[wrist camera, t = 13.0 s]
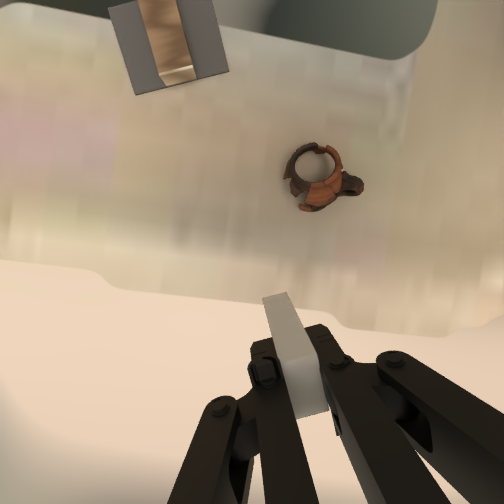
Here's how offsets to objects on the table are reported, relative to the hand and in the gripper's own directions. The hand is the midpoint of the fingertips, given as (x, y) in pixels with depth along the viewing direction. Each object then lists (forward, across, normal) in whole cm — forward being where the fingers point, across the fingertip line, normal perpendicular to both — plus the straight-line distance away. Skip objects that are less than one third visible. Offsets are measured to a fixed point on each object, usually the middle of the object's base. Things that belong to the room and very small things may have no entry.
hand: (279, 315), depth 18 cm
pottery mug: (+33, +13, +5) cm, 35 cm away
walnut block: (+30, -4, +23) cm, 38 cm away
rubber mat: (+32, -4, +29) cm, 44 cm away
